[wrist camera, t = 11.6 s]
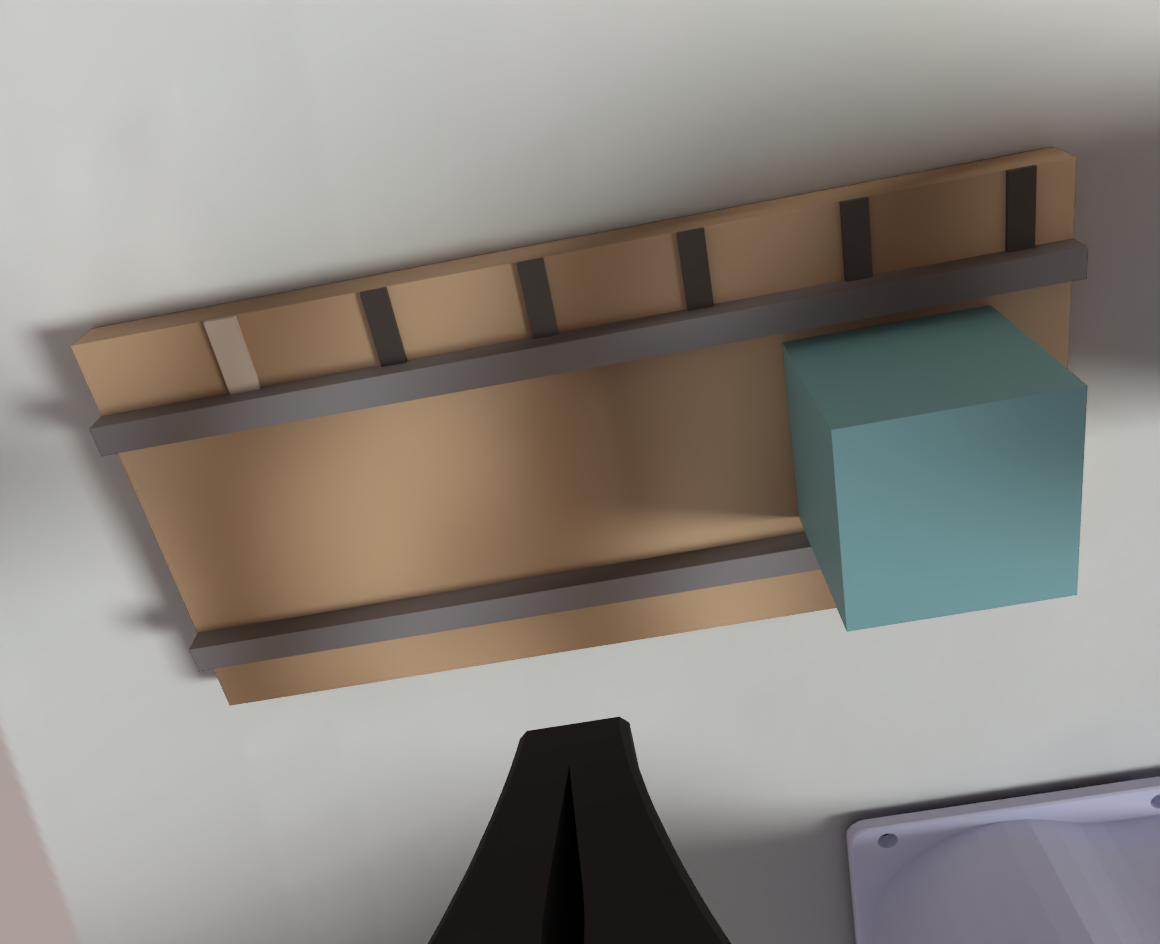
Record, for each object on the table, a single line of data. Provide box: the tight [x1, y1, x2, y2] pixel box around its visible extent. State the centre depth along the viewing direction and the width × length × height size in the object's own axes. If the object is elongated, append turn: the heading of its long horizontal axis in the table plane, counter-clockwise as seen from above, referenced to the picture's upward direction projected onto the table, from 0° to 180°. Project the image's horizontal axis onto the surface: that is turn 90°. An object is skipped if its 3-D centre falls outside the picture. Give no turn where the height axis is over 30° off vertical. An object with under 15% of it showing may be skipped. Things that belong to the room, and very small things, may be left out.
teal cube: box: [782, 305, 1087, 631], centre depth 19 cm, size 4×4×4 cm
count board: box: [71, 147, 1088, 705], centre depth 21 cm, size 19×9×2 cm, turn 100°
